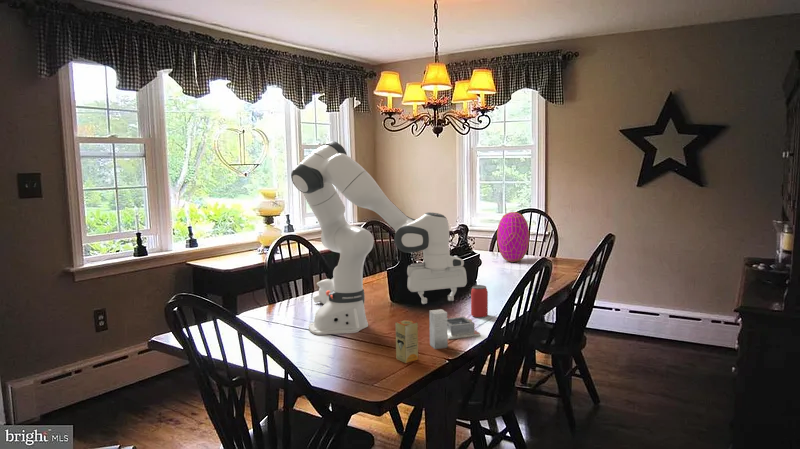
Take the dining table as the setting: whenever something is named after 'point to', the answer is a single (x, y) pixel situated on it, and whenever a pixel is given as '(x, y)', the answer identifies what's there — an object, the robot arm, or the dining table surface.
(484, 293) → the beer can
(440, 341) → the white rectangular block
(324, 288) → the fox head
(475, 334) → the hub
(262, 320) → the dining table surface
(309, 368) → the dining table surface
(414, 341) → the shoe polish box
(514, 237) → the decorative egg
